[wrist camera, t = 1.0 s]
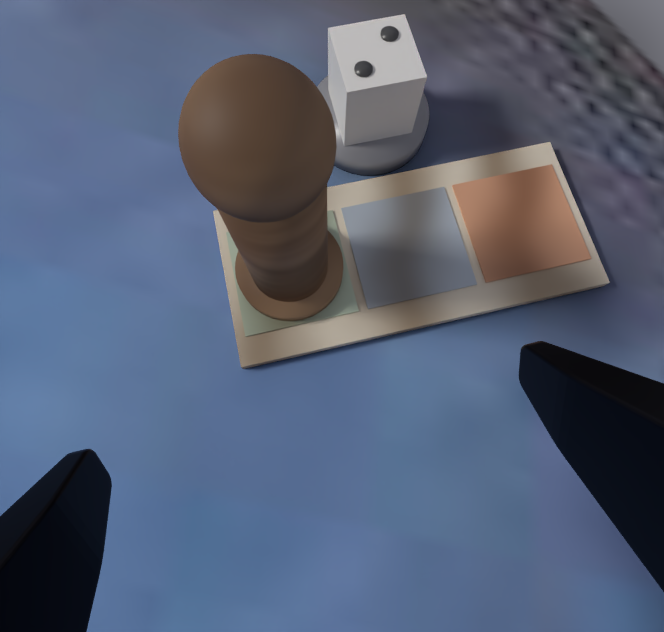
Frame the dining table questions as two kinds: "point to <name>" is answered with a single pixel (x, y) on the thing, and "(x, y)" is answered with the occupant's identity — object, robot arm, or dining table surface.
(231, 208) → the pawn
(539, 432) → the dining table surface
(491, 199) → the board
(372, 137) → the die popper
